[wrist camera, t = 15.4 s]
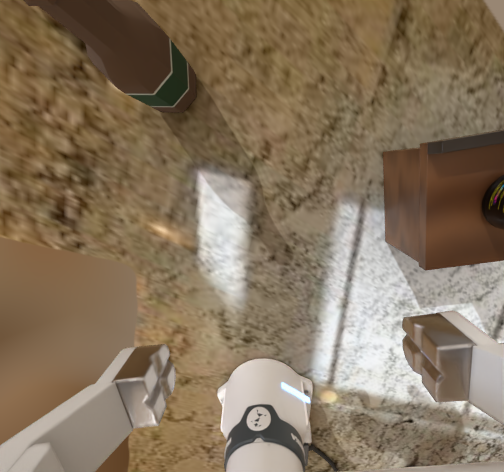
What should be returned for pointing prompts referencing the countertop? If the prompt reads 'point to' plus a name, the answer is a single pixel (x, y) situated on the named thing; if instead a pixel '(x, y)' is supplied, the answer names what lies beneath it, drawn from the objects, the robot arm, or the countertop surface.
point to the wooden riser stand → (444, 200)
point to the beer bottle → (128, 50)
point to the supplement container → (494, 203)
